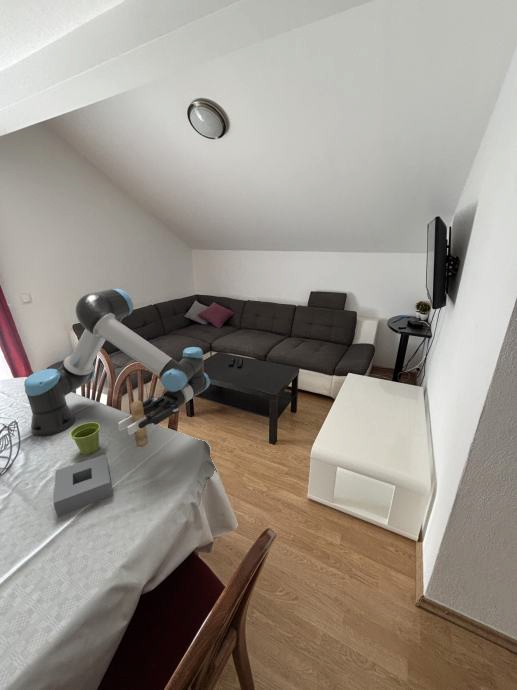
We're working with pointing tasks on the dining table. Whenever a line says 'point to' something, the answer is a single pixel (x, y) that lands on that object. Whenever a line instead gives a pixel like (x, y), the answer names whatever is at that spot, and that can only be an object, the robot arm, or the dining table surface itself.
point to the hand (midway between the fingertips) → (124, 428)
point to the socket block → (81, 484)
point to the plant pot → (86, 437)
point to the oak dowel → (136, 415)
